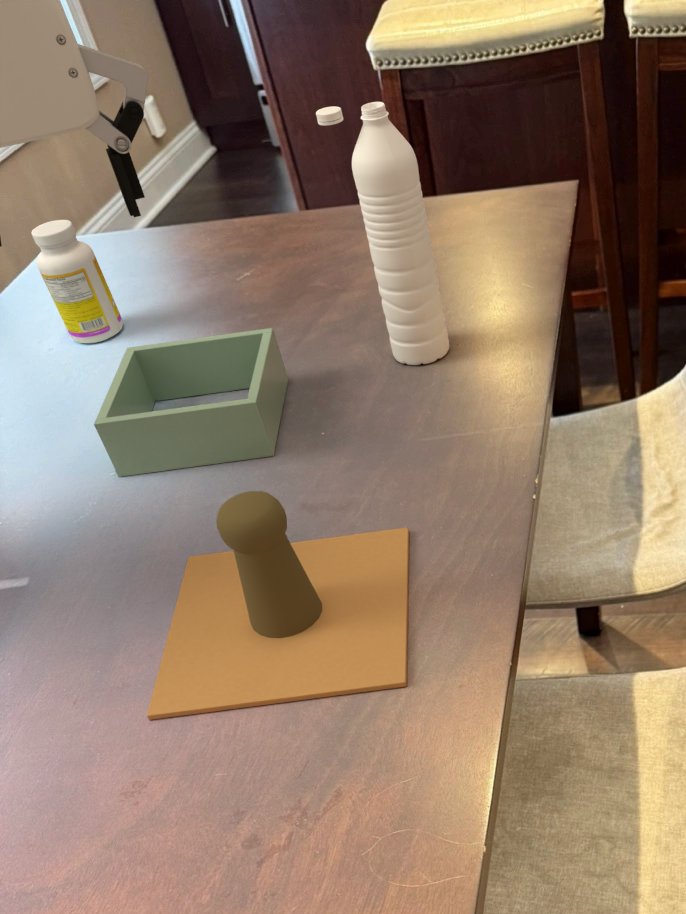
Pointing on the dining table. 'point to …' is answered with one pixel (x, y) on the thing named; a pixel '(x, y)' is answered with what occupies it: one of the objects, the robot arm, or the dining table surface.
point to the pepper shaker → (268, 565)
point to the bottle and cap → (397, 235)
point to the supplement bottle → (76, 283)
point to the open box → (202, 426)
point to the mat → (295, 657)
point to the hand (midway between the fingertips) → (66, 226)
